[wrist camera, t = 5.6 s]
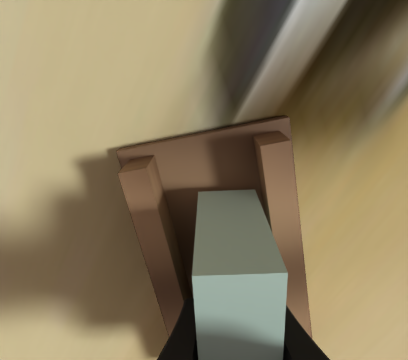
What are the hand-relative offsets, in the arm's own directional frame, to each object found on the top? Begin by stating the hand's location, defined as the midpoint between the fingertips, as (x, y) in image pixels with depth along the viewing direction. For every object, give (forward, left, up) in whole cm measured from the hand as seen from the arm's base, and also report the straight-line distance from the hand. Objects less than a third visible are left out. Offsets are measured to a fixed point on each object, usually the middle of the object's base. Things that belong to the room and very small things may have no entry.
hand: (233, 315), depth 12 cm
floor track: (0, 0, -4) cm, 4 cm away
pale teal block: (0, 0, -3) cm, 3 cm away
